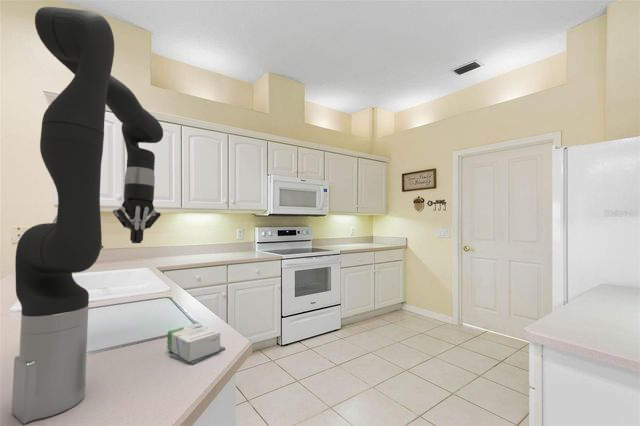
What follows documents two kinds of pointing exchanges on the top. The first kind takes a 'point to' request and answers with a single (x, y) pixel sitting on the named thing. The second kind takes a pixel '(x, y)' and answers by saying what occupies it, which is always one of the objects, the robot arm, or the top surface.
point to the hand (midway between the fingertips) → (136, 243)
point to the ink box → (193, 341)
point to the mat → (195, 359)
